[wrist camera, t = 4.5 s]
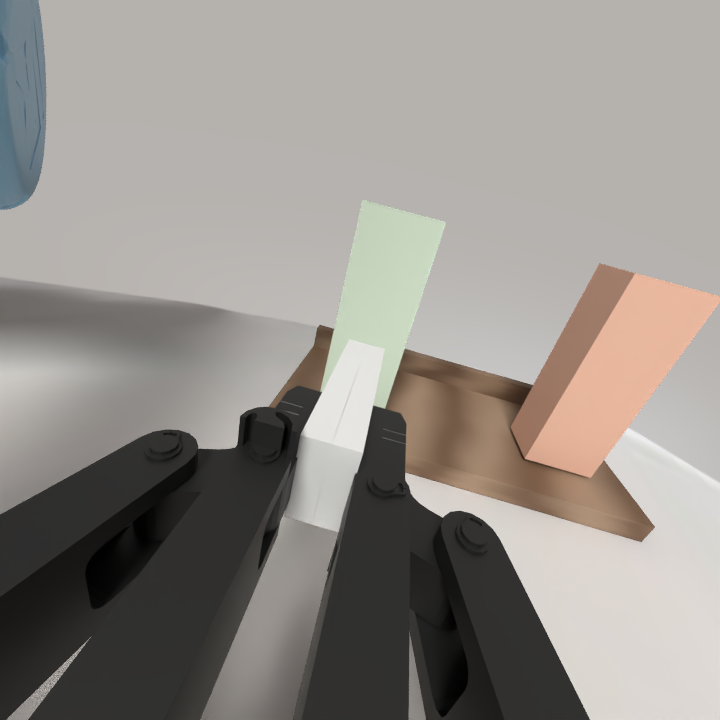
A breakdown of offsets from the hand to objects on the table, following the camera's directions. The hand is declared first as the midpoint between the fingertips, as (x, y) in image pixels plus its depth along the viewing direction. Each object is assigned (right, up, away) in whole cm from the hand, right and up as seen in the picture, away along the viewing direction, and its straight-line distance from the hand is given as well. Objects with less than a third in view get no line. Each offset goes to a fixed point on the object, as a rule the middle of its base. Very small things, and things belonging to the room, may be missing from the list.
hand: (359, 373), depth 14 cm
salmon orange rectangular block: (+15, -7, +13) cm, 21 cm away
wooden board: (+7, -5, +16) cm, 18 cm away
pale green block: (0, -2, +13) cm, 13 cm away
